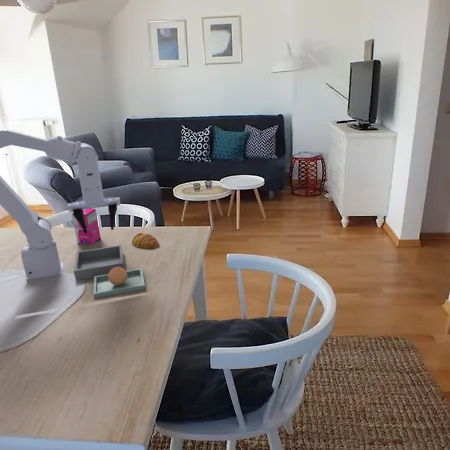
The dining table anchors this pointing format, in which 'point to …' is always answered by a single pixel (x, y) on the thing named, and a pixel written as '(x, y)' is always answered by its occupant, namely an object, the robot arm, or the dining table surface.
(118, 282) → the egg
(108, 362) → the dining table surface
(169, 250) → the dining table surface
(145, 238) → the pastry
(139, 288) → the tray
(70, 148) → the robot arm
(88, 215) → the supplement box
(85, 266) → the open square box
